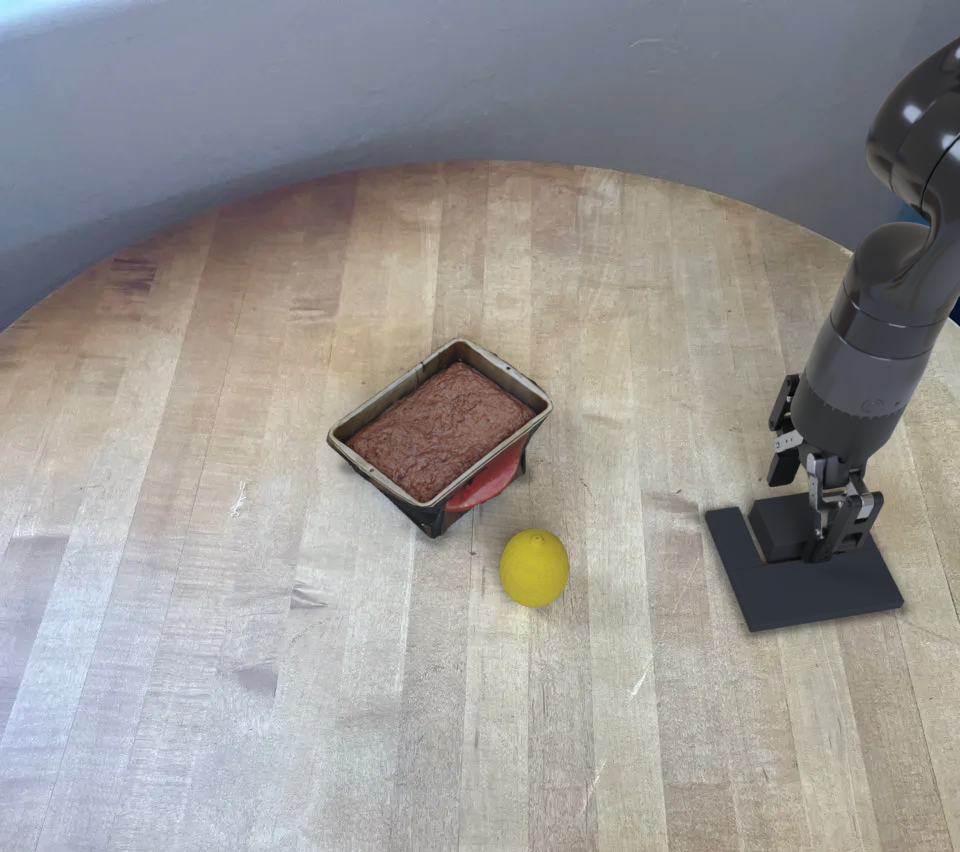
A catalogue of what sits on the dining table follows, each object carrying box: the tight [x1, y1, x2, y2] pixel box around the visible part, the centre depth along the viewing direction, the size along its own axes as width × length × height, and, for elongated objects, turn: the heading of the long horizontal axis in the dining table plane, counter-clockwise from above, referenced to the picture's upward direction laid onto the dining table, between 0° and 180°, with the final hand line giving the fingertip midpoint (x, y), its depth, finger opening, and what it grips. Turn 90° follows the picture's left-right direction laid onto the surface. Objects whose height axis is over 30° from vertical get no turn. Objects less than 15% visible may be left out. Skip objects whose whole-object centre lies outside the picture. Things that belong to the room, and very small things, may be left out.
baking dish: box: [325, 337, 554, 540], centre depth 86 cm, size 14×18×10 cm
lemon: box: [499, 528, 570, 608], centre depth 79 cm, size 6×6×8 cm
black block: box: [747, 491, 832, 565], centre depth 85 cm, size 6×5×3 cm
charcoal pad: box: [704, 490, 905, 634], centre depth 84 cm, size 13×12×2 cm
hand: (795, 519), depth 84 cm, fingers open, 8 cm apart
